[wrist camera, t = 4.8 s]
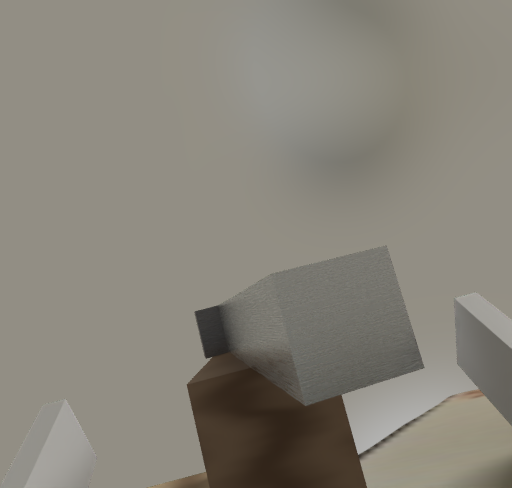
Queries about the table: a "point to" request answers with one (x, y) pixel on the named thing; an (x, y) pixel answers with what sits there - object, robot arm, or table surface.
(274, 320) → the steel bar
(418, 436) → the table surface
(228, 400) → the walnut step stand
